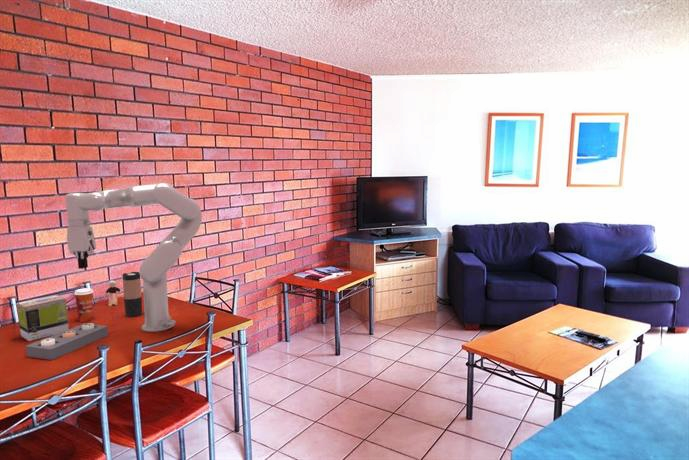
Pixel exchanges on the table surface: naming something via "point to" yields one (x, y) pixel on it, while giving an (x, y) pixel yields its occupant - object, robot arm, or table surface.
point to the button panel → (66, 342)
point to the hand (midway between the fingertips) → (83, 267)
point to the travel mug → (132, 294)
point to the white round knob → (48, 342)
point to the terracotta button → (68, 334)
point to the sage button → (88, 326)
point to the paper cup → (84, 304)
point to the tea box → (42, 317)
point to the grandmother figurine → (112, 293)
